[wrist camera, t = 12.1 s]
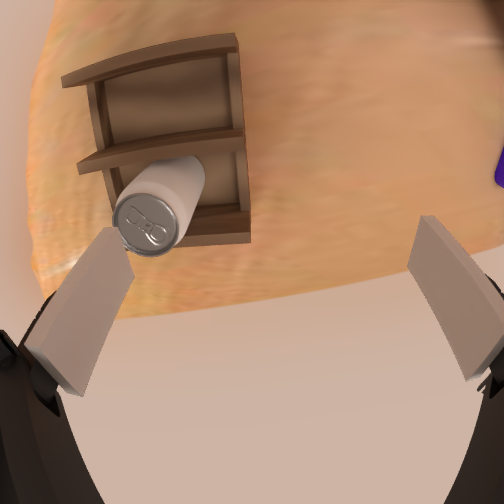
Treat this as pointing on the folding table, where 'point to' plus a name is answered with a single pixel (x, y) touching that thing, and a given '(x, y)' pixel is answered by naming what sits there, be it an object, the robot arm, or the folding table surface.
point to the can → (159, 205)
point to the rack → (174, 126)
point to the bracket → (500, 171)
